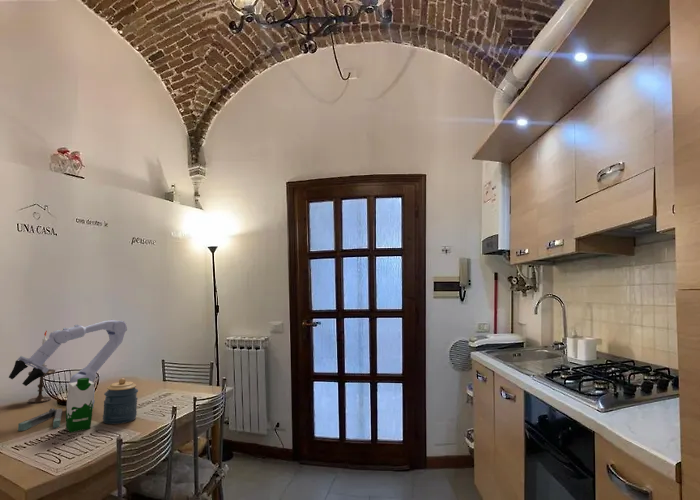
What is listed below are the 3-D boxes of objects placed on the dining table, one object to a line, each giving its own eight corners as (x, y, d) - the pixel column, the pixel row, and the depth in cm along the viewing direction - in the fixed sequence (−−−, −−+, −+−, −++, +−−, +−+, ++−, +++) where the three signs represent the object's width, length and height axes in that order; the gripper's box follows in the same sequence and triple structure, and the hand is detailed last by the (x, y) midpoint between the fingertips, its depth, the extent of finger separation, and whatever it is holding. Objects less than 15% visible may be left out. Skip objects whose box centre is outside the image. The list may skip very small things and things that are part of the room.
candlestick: (55, 400, 204) (61, 330, 207) (28, 405, 196) (35, 331, 199) (49, 396, 211) (55, 328, 214) (23, 400, 203) (29, 329, 206)
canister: (98, 419, 177) (101, 378, 178) (130, 413, 186) (132, 373, 188) (107, 427, 168) (111, 383, 169) (141, 420, 177) (143, 378, 179)
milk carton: (67, 433, 159) (71, 381, 161) (62, 428, 166) (66, 377, 168) (93, 428, 165) (97, 378, 167) (87, 423, 172) (91, 374, 174)
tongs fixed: (62, 414, 183) (62, 406, 183) (59, 427, 166) (60, 418, 167) (48, 415, 180) (49, 408, 181) (44, 429, 164) (45, 420, 164)
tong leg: (51, 417, 178) (52, 411, 178) (23, 430, 162) (24, 423, 162) (46, 417, 178) (46, 411, 178) (17, 430, 161) (18, 423, 162)
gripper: (25, 344, 179) (-2, 371, 171) (51, 355, 177) (25, 384, 168) (34, 351, 185) (8, 378, 177) (59, 362, 182) (34, 390, 174)
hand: (17, 381), depth 173 cm, fingers open, 7 cm apart
